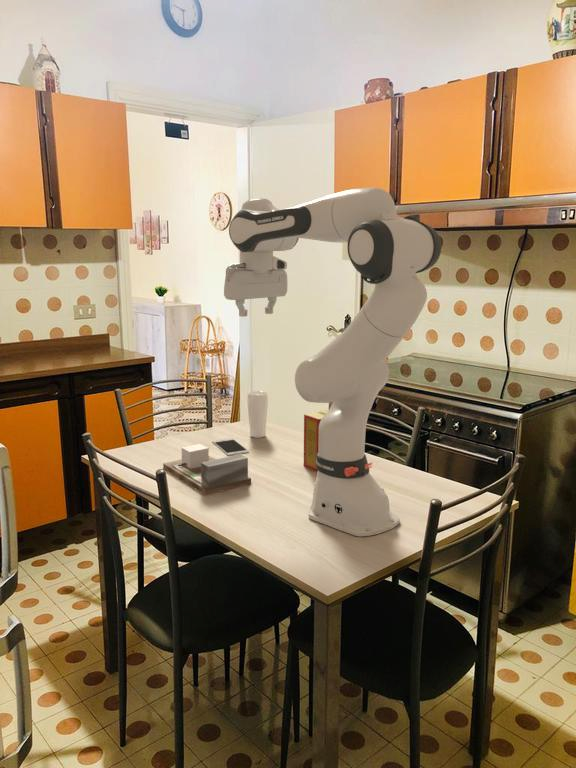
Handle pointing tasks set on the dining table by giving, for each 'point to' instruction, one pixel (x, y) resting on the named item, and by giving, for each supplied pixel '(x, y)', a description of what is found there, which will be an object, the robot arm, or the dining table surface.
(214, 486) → the grey stepped block
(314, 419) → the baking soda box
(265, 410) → the white travel tumbler
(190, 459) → the white rectangular block
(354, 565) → the dining table surface
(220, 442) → the smartphone
